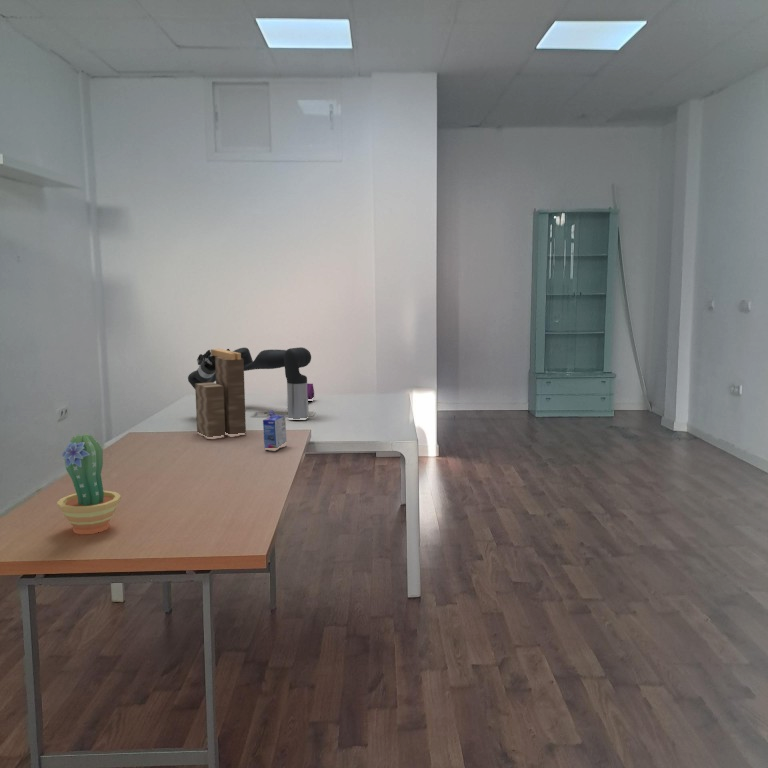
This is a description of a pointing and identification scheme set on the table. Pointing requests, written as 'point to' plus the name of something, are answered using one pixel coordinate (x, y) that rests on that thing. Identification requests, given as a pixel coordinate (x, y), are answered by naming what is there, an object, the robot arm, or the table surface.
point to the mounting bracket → (310, 391)
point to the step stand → (222, 400)
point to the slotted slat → (226, 354)
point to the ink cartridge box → (274, 430)
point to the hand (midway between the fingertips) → (219, 351)
